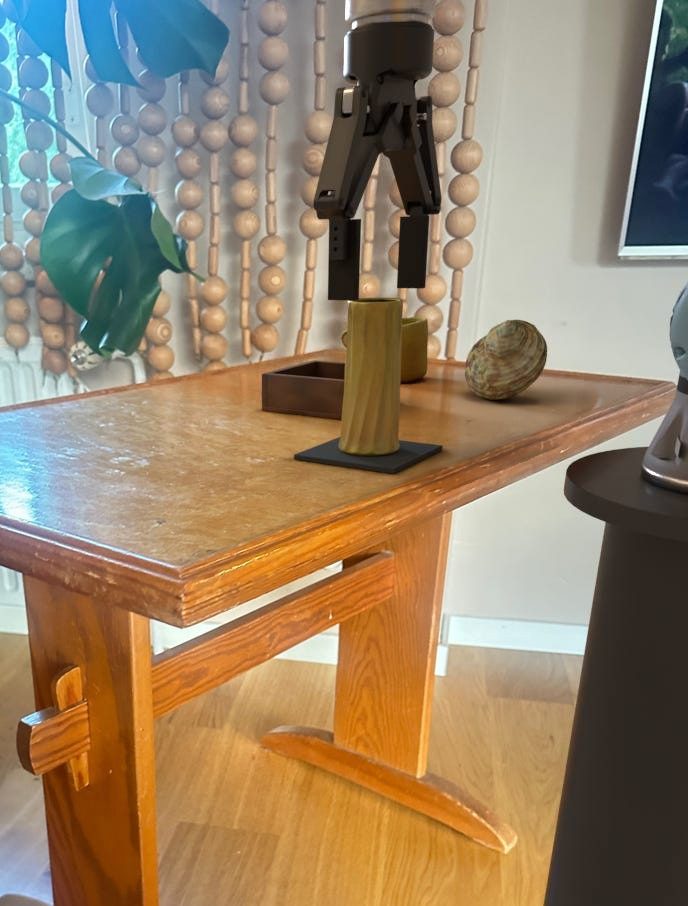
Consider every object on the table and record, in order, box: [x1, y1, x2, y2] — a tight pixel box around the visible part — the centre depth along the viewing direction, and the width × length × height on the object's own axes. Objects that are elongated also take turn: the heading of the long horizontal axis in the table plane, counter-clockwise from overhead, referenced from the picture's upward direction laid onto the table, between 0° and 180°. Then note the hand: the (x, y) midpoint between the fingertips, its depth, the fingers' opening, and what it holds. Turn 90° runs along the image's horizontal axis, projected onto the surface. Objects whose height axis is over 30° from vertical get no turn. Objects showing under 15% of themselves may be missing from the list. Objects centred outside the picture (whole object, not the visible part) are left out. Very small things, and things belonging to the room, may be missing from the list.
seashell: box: [464, 319, 548, 401], centre depth 117 cm, size 11×11×10 cm
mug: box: [340, 316, 429, 384], centre depth 133 cm, size 12×10×10 cm
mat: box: [293, 436, 444, 475], centre depth 93 cm, size 11×11×1 cm
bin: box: [261, 359, 345, 421], centre depth 115 cm, size 13×13×4 cm
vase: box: [339, 296, 404, 456], centre depth 90 cm, size 6×6×14 cm
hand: (378, 294), depth 86 cm, fingers open, 13 cm apart
